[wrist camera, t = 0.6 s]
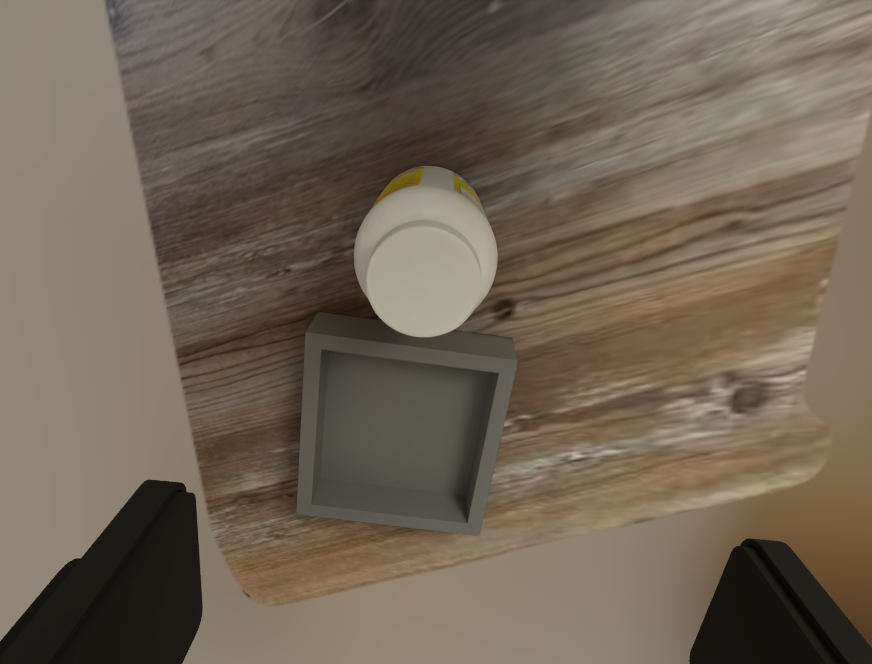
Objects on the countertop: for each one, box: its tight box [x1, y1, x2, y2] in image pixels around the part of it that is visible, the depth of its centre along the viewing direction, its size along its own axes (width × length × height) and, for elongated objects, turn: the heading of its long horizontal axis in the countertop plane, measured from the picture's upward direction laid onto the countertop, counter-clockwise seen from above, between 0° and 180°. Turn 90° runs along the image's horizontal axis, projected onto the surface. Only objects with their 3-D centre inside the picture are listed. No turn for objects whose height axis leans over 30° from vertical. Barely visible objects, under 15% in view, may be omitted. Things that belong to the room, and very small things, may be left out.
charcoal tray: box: [296, 312, 518, 536], centre depth 37 cm, size 14×13×4 cm
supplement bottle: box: [354, 166, 498, 337], centre depth 27 cm, size 7×7×13 cm
